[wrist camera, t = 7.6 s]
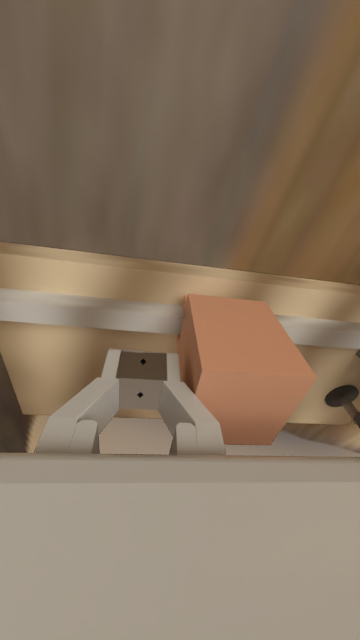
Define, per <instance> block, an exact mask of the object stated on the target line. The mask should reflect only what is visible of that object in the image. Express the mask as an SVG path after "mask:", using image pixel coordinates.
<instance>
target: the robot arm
mask: <svg viewBox="0 0 360 640" xmlns="http://www.w3.org/2000/svg"><path fill="white" fill-rule="evenodd" d="M119 409H146V410H158V411H159V413H160V415H161V417H162V418H163V420H164V422H165V423H166V425H167V427H168V429H169V430H170V432H171V434H172V436H173V441H172V444H171V449H170V453H169V455H145V454H144V455H143V454H100V452H99V436H98V435H99V434H100V432H101V431H102V430H103V429H104V428H105V427H106V425H107V424H108V423H109V422H110V420H111V419H112V418H113V417H114V415H115V414H116V413H117V412H118V411H119ZM0 640H360V457H304V456H303V457H302V456H227V455H226V452H225V447H224V442H223V437H222V432H221V428H220V423H219V422H218V421H217V420H216V418H215V417H214V416H213V415H212V414H211V413H210V412H209V410H208V409H207V408H206V407H205V406H204V405H203V403H202V402H201V401H200V400H199V399H198V398H197V396H196V395H195V394H194V393H193V392H192V391H191V390H190V388H189V387H188V386H187V385H186V384H185V383H184V382H181V379H180V368H179V356H178V353H164V352H148V351H135V350H124V349H122V350H121V349H111V348H109V350H108V353H107V356H106V360H105V364H104V367H103V371H102V375H101V378H99V377H97V378H96V379H95V380H93V381H92V382H91V383H90V384H89V385H87V386H86V387H85V388H84V389H82V390H81V391H80V392H79V393H78V394H76V395H75V396H74V397H73V398H72V399H70V400H69V401H68V402H67V403H66V404H64V405H63V406H62V407H61V408H59V409H58V410H57V411H56V412H55V413H53V414H52V415H51V416H50V417H49V418H48V420H47V423H46V425H45V427H44V430H43V432H42V434H41V437H40V439H39V441H38V444H37V446H36V448H35V451H34V453H0Z"/></svg>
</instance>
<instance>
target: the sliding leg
mask: <svg viewBox="0 0 360 640" xmlns="http://www.w3.org/2000/svg"><path fill="white" fill-rule="evenodd" d="M182 305H183V312H184V318H183V323H182V328H181V334H180V335H177V337H176V340H177V353H178V356H179V368H180V379H181V382H184V383H185V384H186V385H187V386H188V387H189V388H190V390H191V391H192V392H193V393H194V394H195V395H196V396H197V398H198V399H199V400H200V401H201V402H202V403H203V405H204V406H205V407H206V408H207V409H208V410H209V412H210V413H211V414H212V415H213V416H214V417H215V418H216V420H217V421H218V422H219V423H220V428H221V432H222V437H223V442H224V444H229V445H230V444H231V445H271V444H272V442H273V441H274V439H275V438H276V437H277V435H278V434H279V432H280V431H281V429H282V428H283V426H284V425H285V424H286V422H287V421H288V419H289V418H290V416H291V415H292V413H293V412H294V410H295V409H296V407H297V406H298V405H299V403H300V402H301V400H302V399H303V397H304V396H305V394H306V393H307V391H308V390H309V389H310V387H311V386H312V384H313V383H314V381H315V380H316V378H317V376H316V375H315V373H314V372H313V371H312V369H311V368H310V366H309V365H308V363H307V362H306V360H305V359H304V357H303V356H302V354H301V353H300V351H299V350H298V349H297V347H296V346H295V344H294V343H293V341H292V340H291V338H290V337H289V335H288V334H287V332H286V331H285V329H284V328H283V327H282V325H281V324H280V322H279V321H278V319H277V318H276V316H275V315H274V313H273V312H272V310H271V309H270V307H269V306H268V305H267V303H266V302H263V301H254V300H244V299H235V298H225V297H215V296H206V295H196V294H188V295H184V299H183V304H182Z"/></svg>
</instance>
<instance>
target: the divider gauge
mask: <svg viewBox="0 0 360 640" xmlns="http://www.w3.org/2000/svg"><path fill="white" fill-rule="evenodd" d="M188 294H196V295H206V296H215V297H225V298H235V299H244V300H254V301H263V302H266V303H267V305H268V306H269V307H270V309H271V310H272V312H273V313H274V315H275V316H276V318H277V319H278V321H279V322H280V324H281V325H282V327H283V328H284V329H285V331H286V332H287V334H288V335H289V337H290V338H291V340H292V341H293V343H294V344H295V346H296V347H297V349H298V350H299V351H300V353H301V354H302V356H303V357H304V359H305V360H306V362H307V363H308V365H309V366H310V368H311V369H312V371H313V372H314V373H315V375H316V376H317V378H316V380H315V381H314V383H313V384H312V386H311V387H310V389H309V390H308V391H307V393H306V394H305V396H304V397H303V399H302V400H301V402H300V403H299V405H298V406H297V407H296V409H295V410H294V412H293V413H292V415H291V416H290V418H289V419H288V421H287V422H286V423H309V424H340V425H348V424H349V423H350V422H351V421H352V420H353V421H354V423H355V424H357V425H358V426H359V428H360V285H354V284H346V283H338V282H330V281H321V280H313V279H305V278H296V277H288V276H280V275H272V274H263V273H255V272H247V271H239V270H230V269H222V268H214V267H205V266H197V265H189V264H181V263H172V262H164V261H156V260H147V259H139V258H131V257H123V256H114V255H106V254H98V253H90V252H81V251H73V250H65V249H56V248H48V247H40V246H32V245H23V244H15V243H7V242H0V352H1V355H2V358H3V360H4V363H5V366H6V369H7V371H8V374H9V377H10V380H11V383H12V385H13V388H14V391H15V394H16V396H17V399H18V402H19V405H20V408H21V410H22V413H23V414H28V415H52V414H53V413H55V412H56V411H57V410H58V409H59V408H61V407H62V406H63V405H64V404H66V403H67V402H68V401H69V400H70V399H72V398H73V397H74V396H75V395H76V394H78V393H79V392H80V391H81V390H82V389H84V388H85V387H86V386H87V385H89V384H90V383H91V382H92V381H93V380H95V379H96V378H97V377H99V378H101V375H102V371H103V367H104V364H105V360H106V356H107V353H108V350H109V348H111V349H121V350H122V349H124V350H135V351H148V352H164V353H177V340H176V337H177V335H180V334H181V328H182V323H183V318H184V312H183V305H182V304H183V299H184V295H188ZM114 417H122V418H153V419H163V418H162V417H161V415H160V413H159V411H158V410H146V409H119V411H118V412H117V413H116V414H115V415H114Z"/></svg>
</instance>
